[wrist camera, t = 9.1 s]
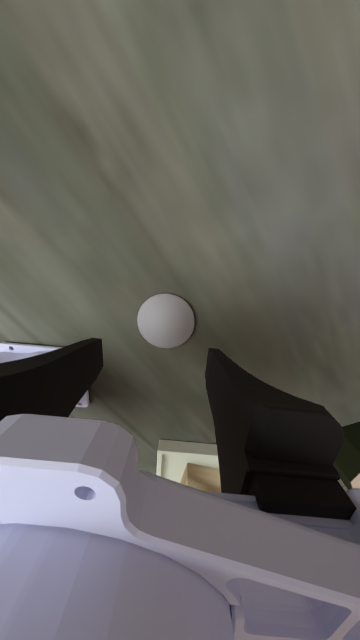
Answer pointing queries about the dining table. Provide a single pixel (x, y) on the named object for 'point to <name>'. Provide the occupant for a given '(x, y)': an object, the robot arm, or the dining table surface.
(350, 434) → the wine bottle
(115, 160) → the dining table surface
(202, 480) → the block
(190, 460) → the tray
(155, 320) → the pad
